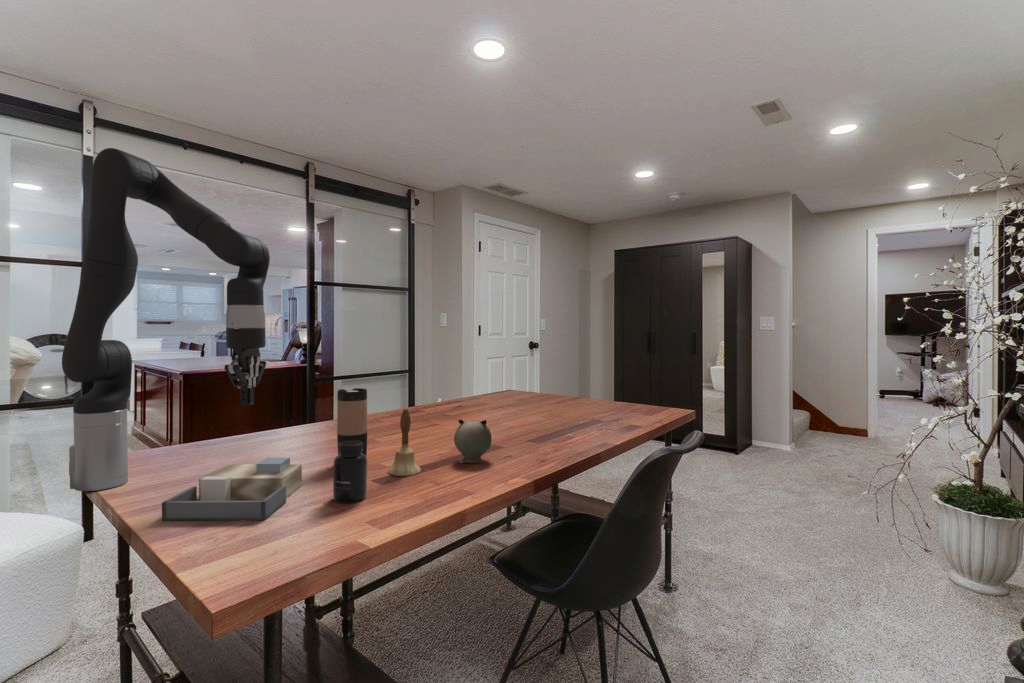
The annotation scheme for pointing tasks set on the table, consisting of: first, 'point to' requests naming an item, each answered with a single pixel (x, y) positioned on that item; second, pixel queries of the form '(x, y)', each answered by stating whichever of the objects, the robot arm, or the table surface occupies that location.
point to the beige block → (215, 488)
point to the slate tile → (273, 465)
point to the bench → (258, 481)
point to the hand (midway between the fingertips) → (247, 405)
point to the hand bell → (404, 452)
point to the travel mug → (352, 417)
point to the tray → (220, 507)
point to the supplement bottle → (350, 473)
